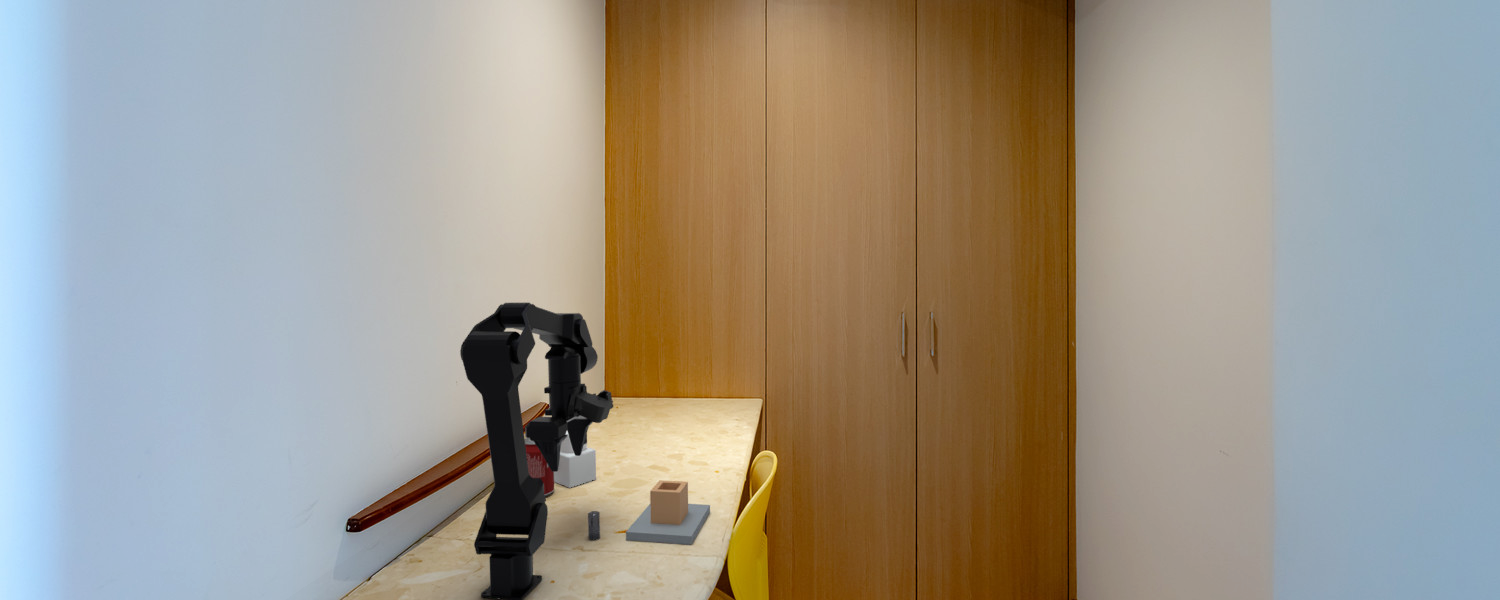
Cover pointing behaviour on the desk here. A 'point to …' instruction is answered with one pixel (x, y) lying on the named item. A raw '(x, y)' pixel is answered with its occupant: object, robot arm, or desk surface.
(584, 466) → the medicine bottle
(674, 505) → the brown square box
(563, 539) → the desk surface
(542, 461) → the soda can
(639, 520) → the board
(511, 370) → the robot arm
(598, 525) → the dark grey cylinder
